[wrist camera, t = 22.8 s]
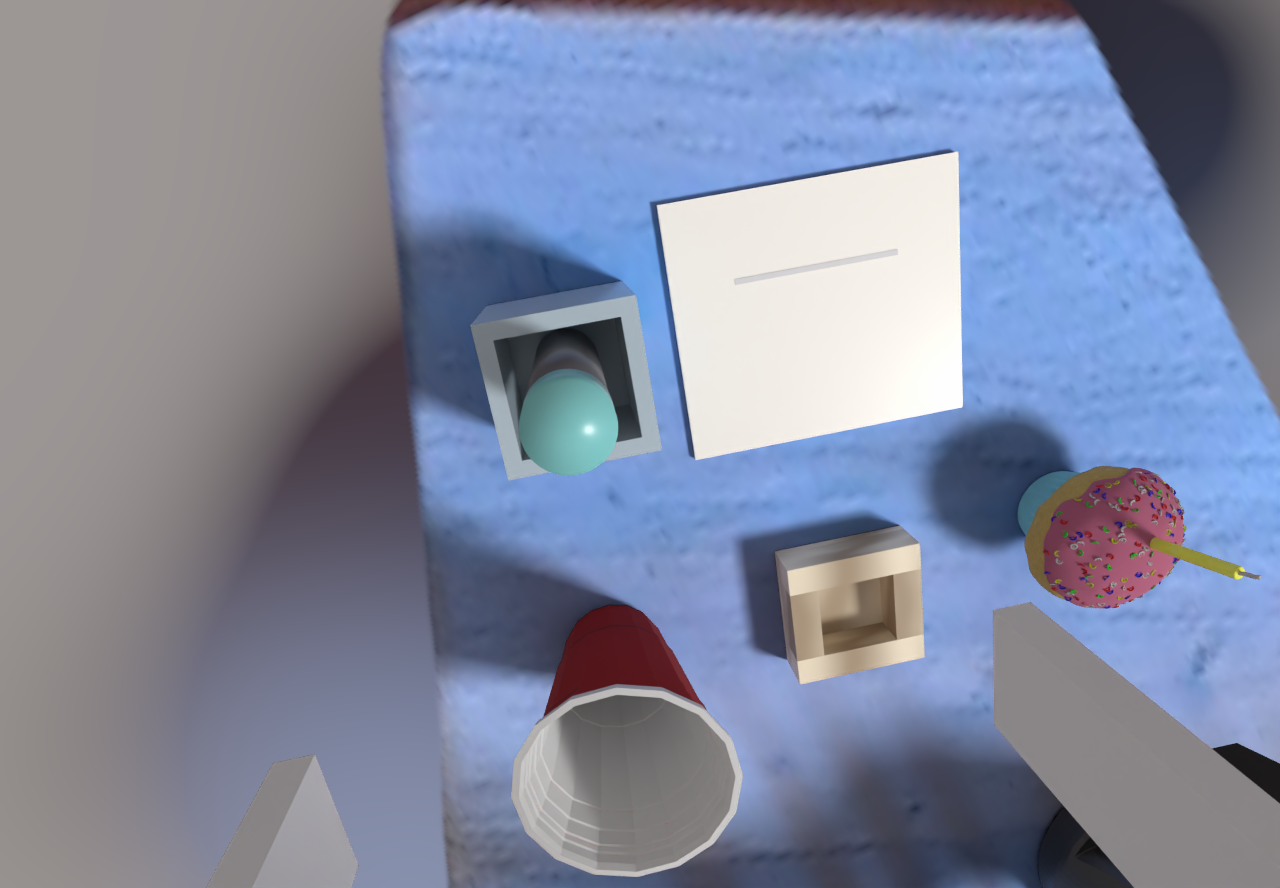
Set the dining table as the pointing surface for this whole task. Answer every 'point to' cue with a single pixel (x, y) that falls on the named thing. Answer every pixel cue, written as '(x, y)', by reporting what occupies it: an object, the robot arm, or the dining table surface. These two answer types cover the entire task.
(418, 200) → the dining table surface
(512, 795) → the plastic cup
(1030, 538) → the cupcake
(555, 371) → the marker
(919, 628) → the marker stand
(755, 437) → the paper
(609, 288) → the pen pot
